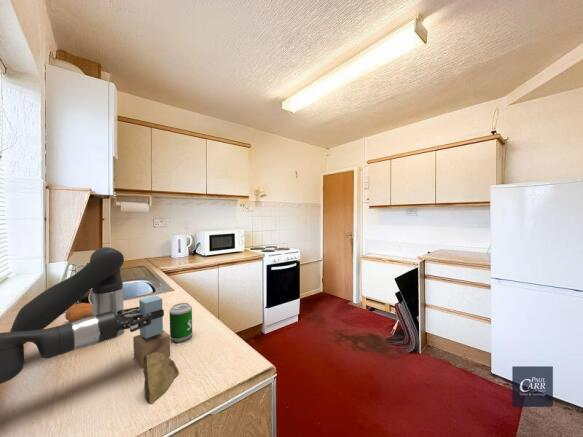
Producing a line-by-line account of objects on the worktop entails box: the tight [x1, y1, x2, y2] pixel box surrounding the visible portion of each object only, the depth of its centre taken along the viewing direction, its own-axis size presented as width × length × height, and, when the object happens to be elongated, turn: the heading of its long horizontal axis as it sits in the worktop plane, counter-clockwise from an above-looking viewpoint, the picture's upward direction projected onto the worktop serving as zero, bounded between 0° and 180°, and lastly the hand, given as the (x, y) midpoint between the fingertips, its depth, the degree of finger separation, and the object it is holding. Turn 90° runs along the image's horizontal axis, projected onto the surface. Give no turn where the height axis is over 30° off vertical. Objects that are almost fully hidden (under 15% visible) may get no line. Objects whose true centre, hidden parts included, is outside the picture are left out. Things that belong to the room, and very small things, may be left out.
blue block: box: [138, 295, 164, 339], centre depth 77 cm, size 5×5×11 cm
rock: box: [142, 352, 180, 405], centre depth 65 cm, size 11×9×10 cm
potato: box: [64, 302, 93, 323], centre depth 103 cm, size 9×11×8 cm
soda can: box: [168, 302, 193, 343], centre depth 89 cm, size 8×8×12 cm
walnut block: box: [132, 329, 171, 369], centre depth 77 cm, size 8×8×7 cm
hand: (159, 310), depth 79 cm, fingers closed on blue block, 5 cm apart
